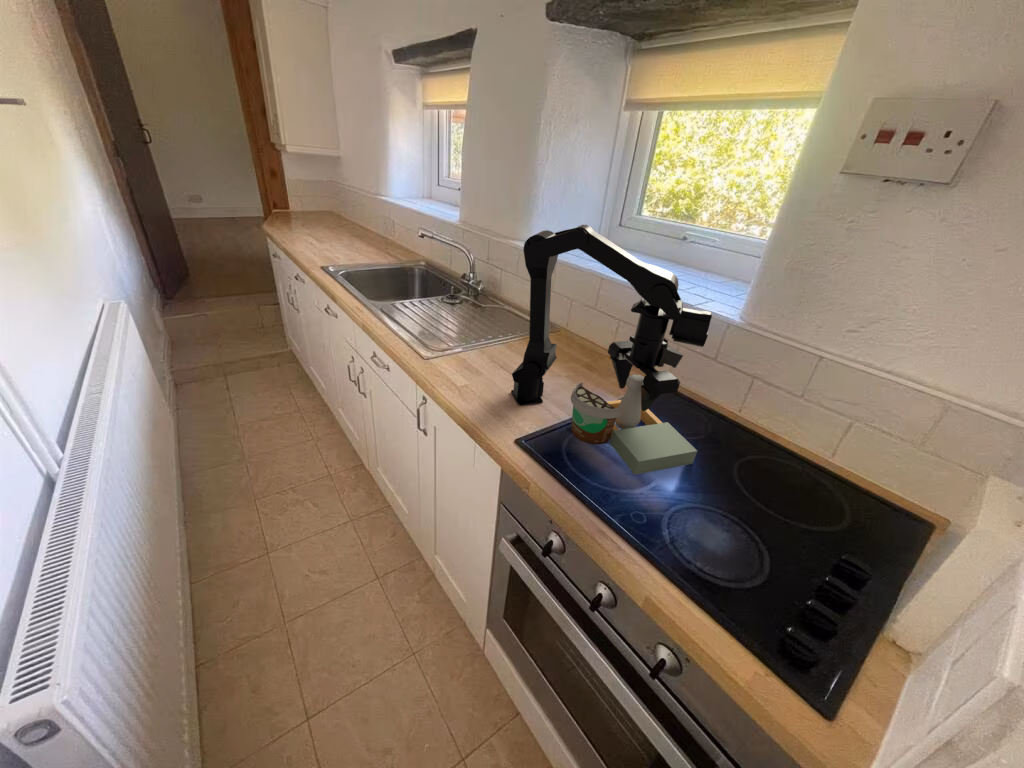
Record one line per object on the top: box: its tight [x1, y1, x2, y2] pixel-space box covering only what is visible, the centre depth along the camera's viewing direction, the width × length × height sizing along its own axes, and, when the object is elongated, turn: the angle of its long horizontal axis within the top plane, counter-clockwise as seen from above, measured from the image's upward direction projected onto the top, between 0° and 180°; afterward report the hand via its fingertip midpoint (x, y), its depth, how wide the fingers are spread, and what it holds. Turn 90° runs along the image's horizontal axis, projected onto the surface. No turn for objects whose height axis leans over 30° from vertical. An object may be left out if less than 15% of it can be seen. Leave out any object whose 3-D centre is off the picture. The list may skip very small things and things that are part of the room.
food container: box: [570, 381, 621, 446], centre depth 88 cm, size 12×6×10 cm, turn 35°
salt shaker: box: [615, 374, 645, 430], centre depth 92 cm, size 6×6×13 cm
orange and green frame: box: [606, 399, 698, 476], centre depth 91 cm, size 14×21×4 cm, turn 18°
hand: (632, 398), depth 91 cm, fingers open, 9 cm apart
